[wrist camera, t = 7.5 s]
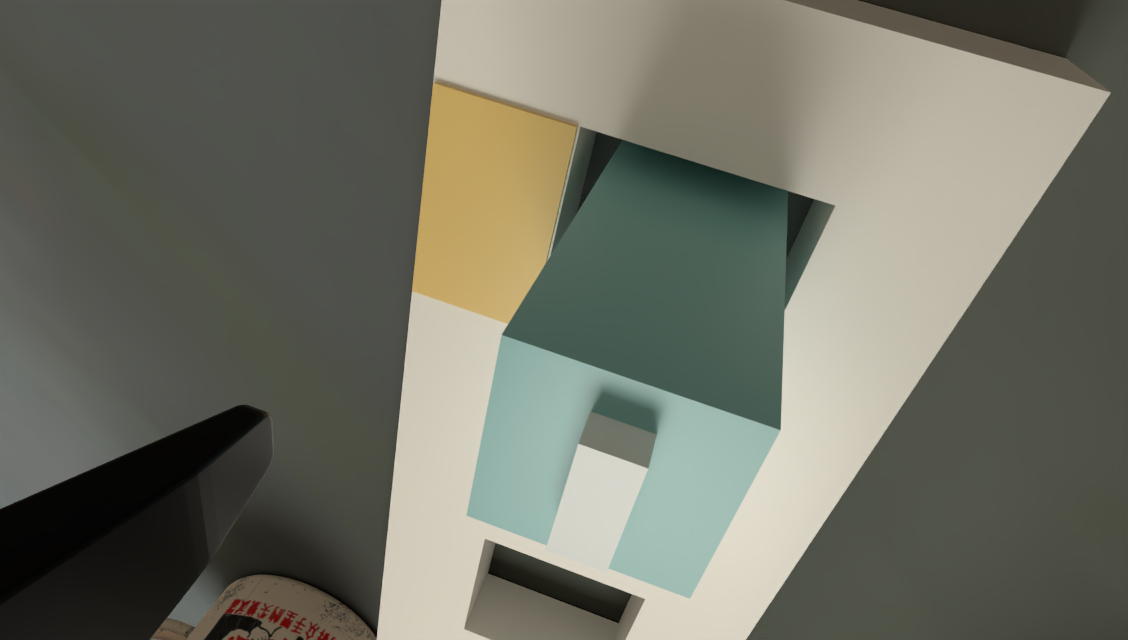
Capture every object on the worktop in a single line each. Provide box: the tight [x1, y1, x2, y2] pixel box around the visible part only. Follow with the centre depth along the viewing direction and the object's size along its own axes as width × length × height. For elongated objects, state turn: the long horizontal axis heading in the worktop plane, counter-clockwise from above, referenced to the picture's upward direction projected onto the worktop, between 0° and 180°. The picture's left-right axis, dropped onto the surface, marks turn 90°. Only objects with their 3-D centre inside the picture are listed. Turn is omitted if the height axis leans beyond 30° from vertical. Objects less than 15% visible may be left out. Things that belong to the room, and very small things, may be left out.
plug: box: [466, 140, 788, 599], centre depth 14 cm, size 4×4×10 cm
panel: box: [377, 0, 1111, 640], centre depth 21 cm, size 12×26×3 cm, turn 168°
